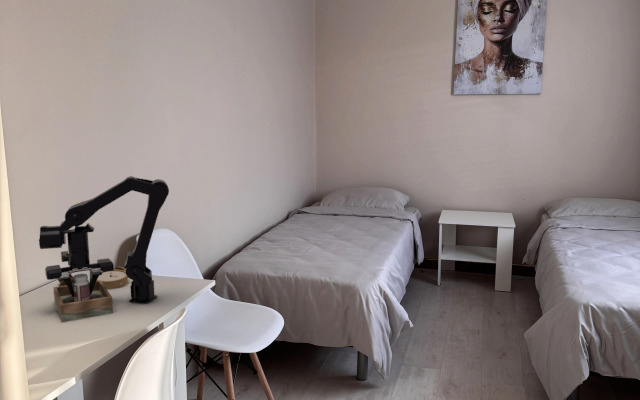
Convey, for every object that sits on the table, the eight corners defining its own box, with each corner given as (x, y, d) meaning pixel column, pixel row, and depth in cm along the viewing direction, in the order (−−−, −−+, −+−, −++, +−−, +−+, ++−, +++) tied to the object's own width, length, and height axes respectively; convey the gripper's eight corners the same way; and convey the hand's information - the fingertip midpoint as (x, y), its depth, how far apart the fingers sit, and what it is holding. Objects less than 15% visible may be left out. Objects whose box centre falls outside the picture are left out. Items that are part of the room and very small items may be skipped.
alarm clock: (92, 283, 178) (94, 263, 191) (93, 296, 180) (95, 275, 193) (128, 280, 182) (127, 261, 195) (128, 293, 184) (127, 273, 197)
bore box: (101, 294, 175) (100, 280, 174) (112, 312, 160) (112, 296, 159) (54, 302, 168) (53, 287, 167) (61, 322, 153) (60, 305, 152)
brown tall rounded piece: (67, 285, 190) (71, 297, 177) (53, 280, 187) (56, 291, 174) (75, 270, 191) (80, 281, 178) (61, 265, 188) (65, 275, 175)
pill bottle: (92, 298, 168) (90, 272, 167) (88, 303, 164) (86, 277, 162) (76, 299, 167) (74, 273, 166) (71, 304, 163) (69, 278, 161)
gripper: (105, 237, 174) (108, 283, 177) (41, 244, 164) (45, 292, 167) (112, 244, 165) (115, 293, 167) (45, 252, 155) (49, 303, 158)
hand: (81, 295), depth 165 cm, fingers closed on pill bottle, 5 cm apart
